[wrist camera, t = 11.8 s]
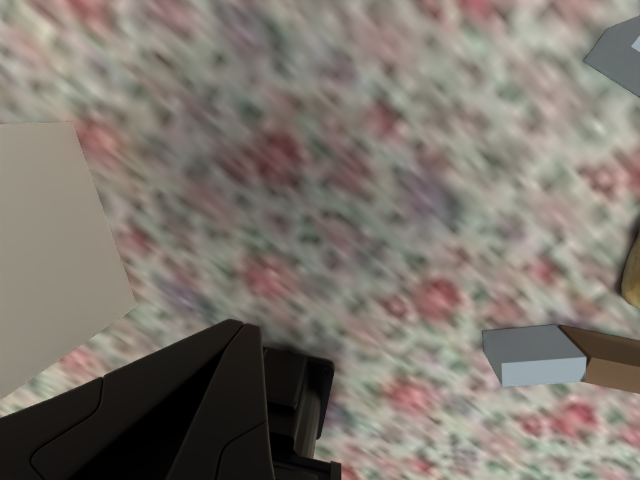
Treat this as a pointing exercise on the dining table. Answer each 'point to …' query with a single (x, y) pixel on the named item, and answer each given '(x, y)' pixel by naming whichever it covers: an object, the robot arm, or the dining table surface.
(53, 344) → the milk
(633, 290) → the pastry
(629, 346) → the holder
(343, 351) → the dining table surface
